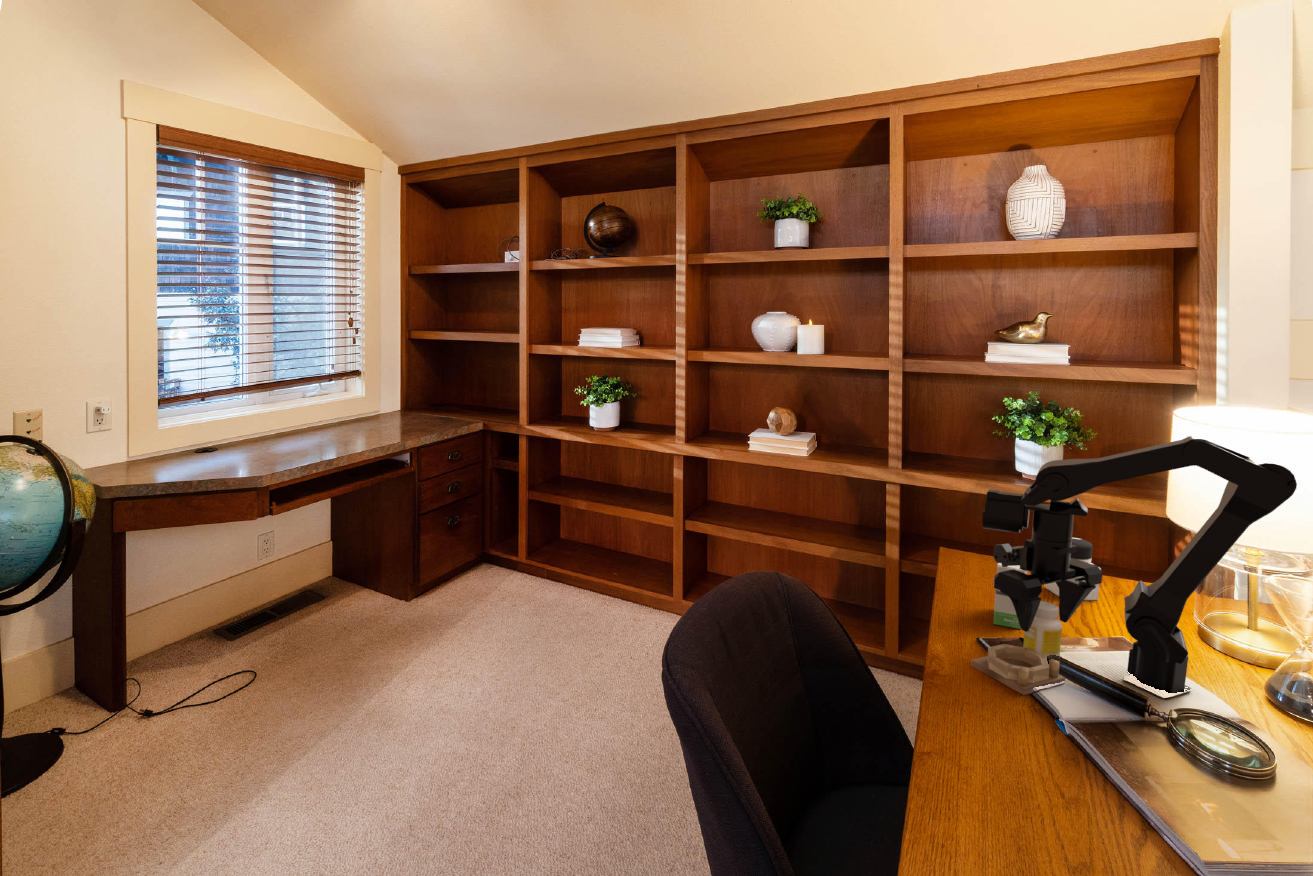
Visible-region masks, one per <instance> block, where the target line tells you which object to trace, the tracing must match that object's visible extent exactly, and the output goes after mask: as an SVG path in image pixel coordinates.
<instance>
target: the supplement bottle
mask: <svg viewBox="0 0 1313 876" xmlns="http://www.w3.org/2000/svg"><path fill="white" fill-rule="evenodd" d="M1058 617H1059V605H1056V604H1055V603H1051V602H1048V601H1042V600H1041V602H1040V605H1039V607H1038V610H1037V612H1036V615H1035V617H1034V620H1033V622H1032V625H1031V627H1030V629H1029V631H1028V632H1025V631H1023V632H1024V634H1023V646H1022V647H1025V648H1029V649H1031V650H1033V651H1035V652H1037V653H1039V654H1041V655H1043V656H1045V657H1047V656H1049V655H1056V656H1060V655H1061V643H1062V630H1063V624H1062V621H1060V618H1058Z"/></svg>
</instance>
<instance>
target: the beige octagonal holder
mask: <svg viewBox="0 0 1313 876" xmlns="http://www.w3.org/2000/svg"><path fill="white" fill-rule="evenodd" d="M970 664H971V667H974V669H976V670H978V671H980V672H982V673H984V674H985V675H986V676H989V677H991V678H992V679H994V680H996V681H998V682H1000V684H1003V685H1005V686H1006V687H1008V688H1010V689H1012V690H1013V691H1016V692H1017V693H1019V694H1021V695H1023V696H1026V695H1029V694H1032V689H1033V688H1034V687H1039V686H1045V685H1048V684H1055V683H1060V682H1062V681H1065V682H1066V677H1064V676H1062V675H1061V674H1059V673H1060V660H1059V661H1057V660H1054V659H1051V660H1049V664H1048V661H1047V657H1045V656H1043V655H1041V654H1039V653H1037V652H1035V651H1033V650H1031V649H1029V648H1025V647H1023V646H1019V645H1018V646H1017V645H1013V644H1007V643H1006V644H1004V643H1003V644H999V645H993V646H990V647H988V648H987V655H986V656H982V657H979V658H974V659H971V663H970Z"/></svg>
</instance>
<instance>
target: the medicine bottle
mask: <svg viewBox="0 0 1313 876" xmlns="http://www.w3.org/2000/svg"><path fill="white" fill-rule="evenodd" d="M1072 545H1075V546H1078V548H1077V552H1075V553H1071V556H1070V559H1072V558H1074V559H1077V560H1080V561H1083V562H1087V563H1090V564H1093V565H1095V564H1094V563H1092V558H1093V557H1092V556H1093V547H1094V546H1093V544H1092V542H1089V541H1088V540H1086V539H1083V538H1079V537H1078V538H1077V537H1072ZM1099 569H1100V570H1101V571H1102V568H1101V567H1099ZM1045 589H1047V590H1048V591H1049V592H1052V593H1053V594H1054V595H1056V596H1057V597H1059V588H1058V586H1057V584H1056V582H1054V583H1049V584H1045ZM1099 591H1100V584H1096V588H1095V589H1093V590H1092V591H1091V592H1090V593H1089V594H1088V596H1087V597H1086V598H1085V599H1084V600H1083V601H1098V600H1099V595H1100V594H1099V593H1100V592H1099Z"/></svg>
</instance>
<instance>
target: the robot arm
mask: <svg viewBox="0 0 1313 876" xmlns="http://www.w3.org/2000/svg"><path fill="white" fill-rule="evenodd" d="M1193 466H1195V467H1199V468H1201V469H1203V470H1205V471H1208V472H1210V473H1211V474H1214V475H1215V476H1217V477H1220V478H1221V479H1223V480H1226V481H1227V483H1226V485H1225V487H1224V490H1223V494H1222V496H1221V499H1220V501H1219V504H1218V506H1217V508H1216V509H1215V511H1214V512H1213V513H1212V514H1211V515H1210V516H1209V517H1208V519H1207V520H1205V523H1204V524H1203V525H1202V526H1201V527H1200V528H1199V530H1198V531H1197V533H1196V534H1195V535H1194V537H1192V539H1191V540H1190V541H1189V542H1188V544H1187V545H1186V546H1185V547H1184V548H1183V549H1182V551H1181V552H1180V553H1179V555H1178V556H1177V557H1176V559H1175V560H1174V561H1173V562H1172V563H1171V565H1170V566H1169V567H1168V568H1167V569H1166V571H1165V572H1164V573H1163V574H1162V576H1161V577H1159V578H1158V579H1157V580H1155V581H1154V582H1152V583H1150V584H1149V585H1147V584H1146V583H1144V581H1142V580H1138V582H1137V584H1136V586H1135V587H1134V589H1133V591H1132V592H1131V593H1129V595H1127V596H1125V597H1124V599H1123V600H1124V621H1125V628H1126V631H1127V633H1128V634H1129V635H1130V637H1132V638H1133V639H1134V640H1135V641H1134V642H1132V648H1131V649H1129V651H1128V652H1129V653H1128V660H1127V669H1126V670H1127V671H1128V672H1129V673H1130V674H1133V676H1135V677H1136V678H1137V680H1139V681H1140V682H1141V683H1143V684H1146V685H1148V686H1151V687H1154V688H1155V689H1159V690H1165V691H1166V692H1168V693H1177V692H1184V689H1187V690H1190V689H1192V688H1191V687H1190V686H1187V685H1186V678H1187V671H1188V663H1189V651H1188V647H1187V644H1186V641H1185V637H1184V633H1183V630H1181V629H1180V628H1179V626H1178V625H1179V622H1180V619H1181V617H1182V614H1183V611H1184V608H1185V605H1186V603H1187V601H1188V599H1189V598H1190V597H1191V595H1192V594H1193V593H1194V592H1195V591H1196V589H1197V588H1199V586H1200V585H1201V584H1202V583H1203V581H1204V580H1205V579H1206V578H1207V576H1208V575H1209V574H1210V573H1211V572H1212V570H1213V569H1214V568H1215V567H1216V566H1217V565H1218V564H1219V562H1220V561H1221V560H1222V559H1223V558H1224V556H1225V555H1227V553H1228V552H1229V550H1230V549H1231V548H1232V547H1233V546H1234V544H1236V542H1237V541H1238V540H1239V539H1240V538H1241V536H1242V535H1243V534H1244V533H1245V531H1246V530H1247V529H1248V528H1249V527H1250V526H1251V525H1252V524H1254V523H1256V522H1257V521H1259V520H1261V519H1263V518H1264V517H1266V516H1268V515H1270V514H1271V513H1273V512H1274V511H1275V510H1276V509H1278V508H1280V506H1281V505H1282V504H1284V503H1285V502H1286V501H1287V500H1289V499H1290V498H1291V497H1292V496H1293V495H1294V493H1295V491H1296V490H1297V486H1298V483H1297V480H1296V477H1295V475H1294V473H1292V471H1291V470H1290V469H1288V468H1287V467H1285V465H1283V464H1282V463H1280V462H1278V461H1277V460H1275V459H1273V458H1272V457H1271V458H1270V457H1268V456H1253V457H1252V456H1251V457H1250V456H1247V455H1245V454H1242V453H1240V452H1237V451H1235V450H1233V449H1231V448H1228V447H1225V446H1222V445H1220V444H1217V443H1214V442H1212V441H1210V440H1209V438H1206V437H1205V436H1201V435H1189V436H1186V437H1185V438H1183V439H1179V440H1175V441H1174V440H1173V441H1170V442H1166V443H1160V444H1156V445H1152V446H1148V447H1143V448H1138V449H1133V450H1129V451H1124V452H1120V453H1116V454H1111V455H1108V456H1102V457H1098V458H1097V457H1095V458H1070V459H1056V460H1051V461H1048V462H1045V463H1044V464H1042V466H1041V467H1040V468H1039V470H1038V472H1037V474H1036V476H1035V481H1034V482H1033V483H1032V484H1031V485H1030V486H1029V487H1026V489H1025V491H1024V493H1016V492H1007V491H1006V492H1005V491H1000V490H998V489H987V492H986V499H985V504H984V509H983V510H982V523H981V524H982V529H985V530H986V529H987V530H992V531H993V530H994V531H1000V532H1001V531H1002V532H1008V533H1014V534H1015V533H1016V534H1021V531H1023V530H1024V529H1028V528H1029V522H1030V521H1029V520H1030V512H1031V511H1033V516H1032V530H1031V539H1025V540H1024V542H1023V545H1017V546H1011V545H1010V543H1001V544H1000V543H999V544H994V549H993V559H994V561H995V562H996V563H997V564H998V563H1001V564H1002V567H1007V566H1017V565H1020V569H1022V570H1024V571H1027V572H1029V573H1030V574H1028V573H1027V574H1025V573H1022V572H1019V571H1017V570H1009V571H1003V572H999V573H997V572H996V574H995V575H994V577H993V588H994V589H995V590H996V589H998V590H1000V592H1002V593H1004V594H1006V595H1007V596H1008V597H1009V598H1010V599H1011V601H1012V603H1013V606H1014V608H1015V611H1016V615H1017V618H1018V621H1019V624H1020V627H1021V629H1020V630H1021V631H1023V632H1028V631H1029V629H1030V627H1031V625H1032V622H1033V620H1034V617H1035V615H1036V612H1037V610H1038V607H1039V605H1040V602H1041V601H1042V600H1043V599H1042V597H1040V595H1041V593H1042V591H1043V586H1045V585H1046V584H1049V583H1054V582H1056V584H1057V586H1058V588H1059V596H1058V608H1059V611H1058V617H1059V620H1060V621H1061V623H1062V622H1063V623H1068V621H1069V620H1070V619H1071V617H1072V616H1073V615H1074V613H1075V612H1076V610H1078V608H1079V607H1080V605H1081V604H1082V603H1083V602H1084V601H1085V600H1084V599H1085V598H1086V597H1087V596H1088V594H1089V593H1090V592H1091V591H1092V590H1093V589H1095V588H1096V584H1099V585H1100V584H1102V582H1103V581H1102V580H1103V571H1102V569H1101V570H1100V569H1099V568H1100V567H1099V566H1098V565H1097V564H1094V563H1092V564H1090V563H1091V562H1090V563H1087V562H1083V561H1080V560H1077V559H1074V558H1072V559H1070V556H1071V553H1075V552H1077V548H1078V546H1075V545H1072V538H1073V530H1074V521H1075V518H1074V517H1075V516H1078V517H1079V516H1080V517H1087V516H1088V515H1089V509H1088V508H1087V506H1085V505H1084V504H1083V503H1082V502H1081V499H1079V498H1078V497H1076V496H1078V495H1081V494H1084V493H1086V492H1088V491H1091V490H1093V489H1095V488H1097V487H1099V486H1102V485H1104V484H1108V483H1114V482H1117V481H1118V482H1120V481H1123V480H1128V479H1133V478H1138V477H1143V476H1147V475H1154V474H1157V473H1163V472H1168V471H1173V470H1178V469H1181V468H1187V467H1193ZM1073 497H1075V498H1073ZM1070 498H1073V500H1071V501H1066V500H1067V499H1070ZM1049 500H1050V501H1049ZM1047 501H1049V502H1050V503H1045V502H1047ZM1023 528H1024V529H1023ZM1093 564H1094V565H1093ZM1127 671H1126V672H1127ZM1128 672H1127V673H1128ZM1130 674H1129V675H1130ZM1185 687H1188V688H1185ZM1187 690H1185V691H1187Z"/></svg>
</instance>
